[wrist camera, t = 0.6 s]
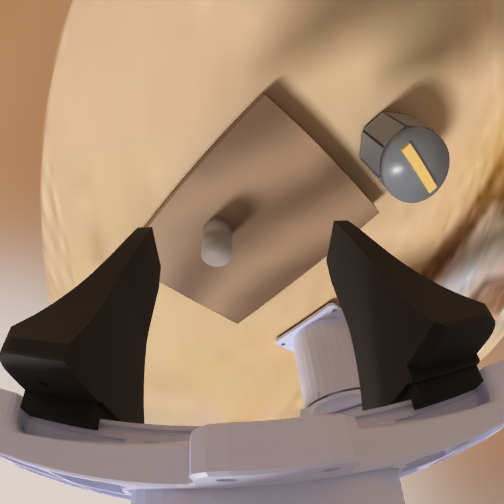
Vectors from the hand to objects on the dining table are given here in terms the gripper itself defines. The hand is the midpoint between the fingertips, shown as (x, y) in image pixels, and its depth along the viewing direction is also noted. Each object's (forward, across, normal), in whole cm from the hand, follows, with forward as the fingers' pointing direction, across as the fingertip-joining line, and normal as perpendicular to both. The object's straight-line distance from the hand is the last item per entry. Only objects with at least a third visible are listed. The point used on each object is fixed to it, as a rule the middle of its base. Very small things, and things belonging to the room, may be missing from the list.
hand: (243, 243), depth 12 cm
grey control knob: (+10, -11, -1) cm, 15 cm away
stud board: (+10, -1, +6) cm, 11 cm away
